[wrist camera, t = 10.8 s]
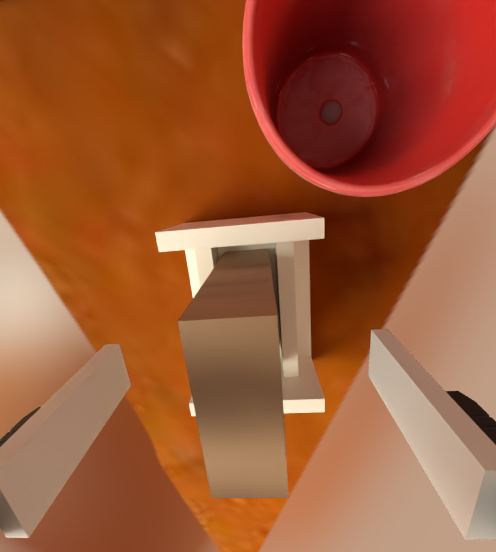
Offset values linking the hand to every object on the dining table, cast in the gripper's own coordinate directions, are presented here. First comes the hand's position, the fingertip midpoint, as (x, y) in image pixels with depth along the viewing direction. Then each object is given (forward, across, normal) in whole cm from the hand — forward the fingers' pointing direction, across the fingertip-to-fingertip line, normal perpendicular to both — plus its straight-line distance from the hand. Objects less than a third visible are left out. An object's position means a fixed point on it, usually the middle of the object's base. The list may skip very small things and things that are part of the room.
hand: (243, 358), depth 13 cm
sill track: (+10, 0, -1) cm, 10 cm away
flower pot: (+10, +7, +13) cm, 18 cm away
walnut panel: (+9, 0, -1) cm, 9 cm away
